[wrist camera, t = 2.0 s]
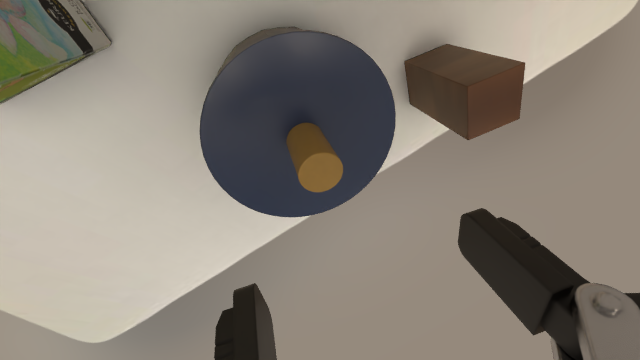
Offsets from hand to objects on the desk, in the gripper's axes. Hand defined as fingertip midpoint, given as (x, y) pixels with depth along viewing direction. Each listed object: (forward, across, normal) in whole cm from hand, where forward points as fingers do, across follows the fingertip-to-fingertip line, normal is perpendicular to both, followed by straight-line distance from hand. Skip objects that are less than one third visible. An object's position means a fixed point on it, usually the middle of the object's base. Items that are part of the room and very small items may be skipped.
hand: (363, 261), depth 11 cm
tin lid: (+12, 0, 0) cm, 12 cm away
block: (+19, -14, +1) cm, 24 cm away
